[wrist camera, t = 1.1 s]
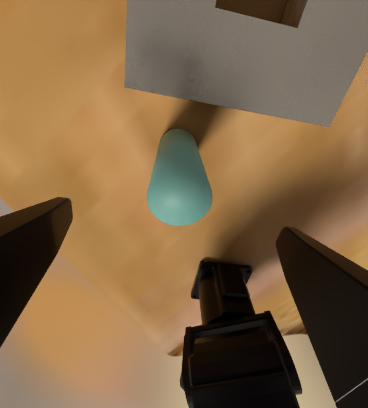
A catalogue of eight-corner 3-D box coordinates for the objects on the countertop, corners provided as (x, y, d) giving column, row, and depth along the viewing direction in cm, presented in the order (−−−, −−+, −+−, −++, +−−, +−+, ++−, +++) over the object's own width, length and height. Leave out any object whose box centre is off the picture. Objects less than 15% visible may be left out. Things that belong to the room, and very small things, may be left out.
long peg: (192, 168, 19) (204, 229, 11) (157, 162, 19) (144, 221, 11) (200, 132, 17) (219, 174, 10) (161, 125, 17) (150, 163, 9)
